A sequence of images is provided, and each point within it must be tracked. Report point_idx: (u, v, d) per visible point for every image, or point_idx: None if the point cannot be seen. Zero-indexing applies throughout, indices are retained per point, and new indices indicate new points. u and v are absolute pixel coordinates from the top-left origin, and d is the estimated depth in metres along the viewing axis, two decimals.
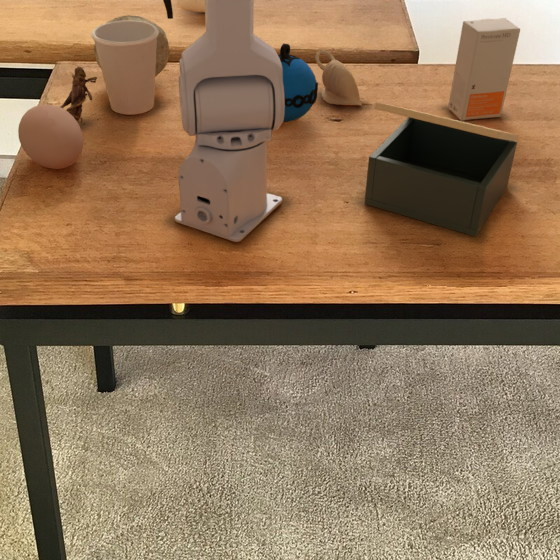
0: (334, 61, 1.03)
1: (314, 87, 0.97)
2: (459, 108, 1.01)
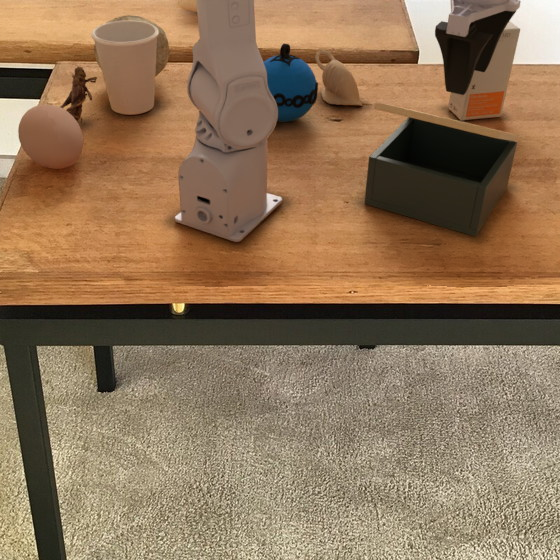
0: (334, 61, 1.03)
1: (314, 87, 0.97)
2: (459, 108, 1.01)
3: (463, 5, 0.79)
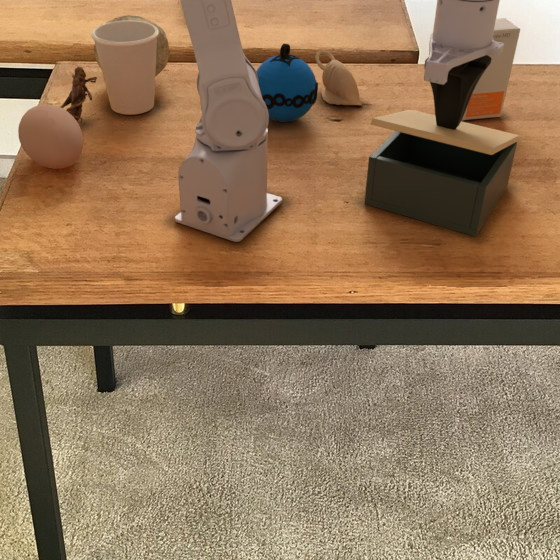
0: (334, 61, 1.03)
1: (314, 87, 0.97)
2: None
3: (442, 49, 0.73)
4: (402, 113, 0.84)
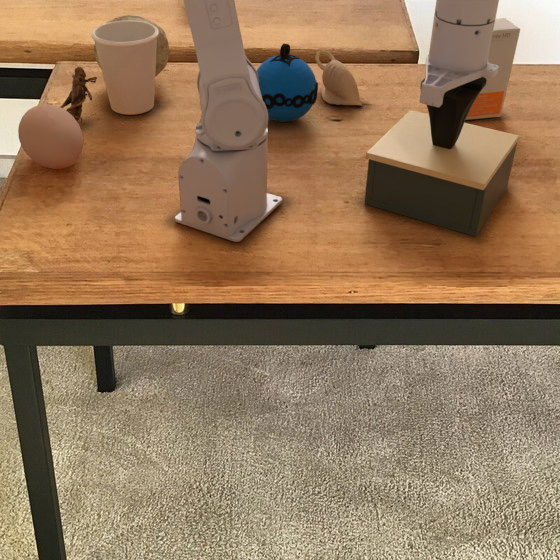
0: (334, 61, 1.03)
1: (314, 87, 0.97)
2: None
3: (438, 71, 0.74)
4: (400, 125, 0.85)
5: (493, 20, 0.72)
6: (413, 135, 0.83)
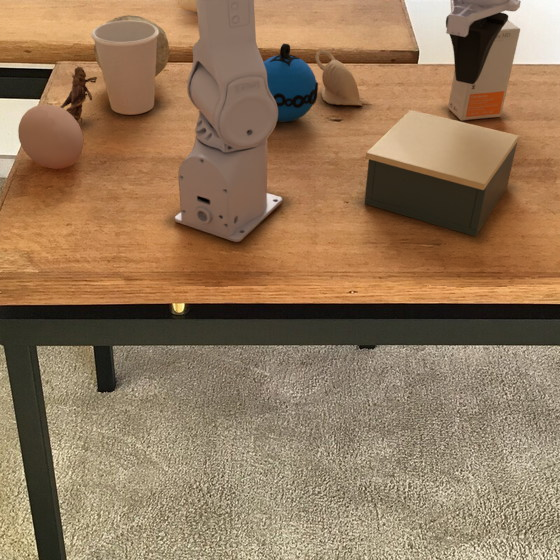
0: (334, 61, 1.03)
1: (314, 87, 0.97)
2: (459, 108, 1.01)
3: (463, 5, 0.79)
4: (400, 125, 0.85)
5: None
6: (413, 135, 0.83)
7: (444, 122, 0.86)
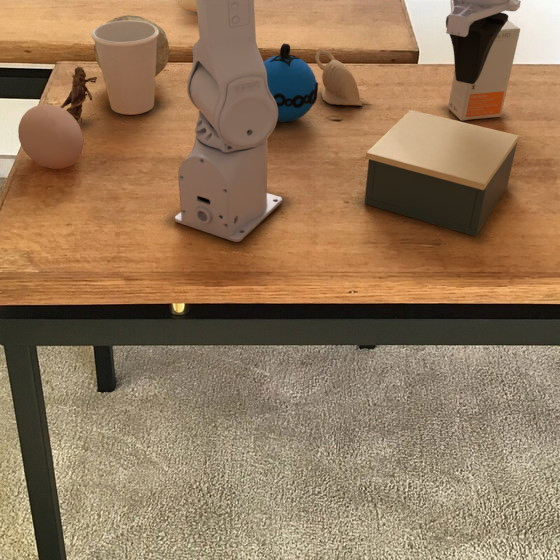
0: (334, 61, 1.03)
1: (314, 87, 0.97)
2: (459, 108, 1.01)
3: (463, 5, 0.79)
4: (400, 125, 0.85)
5: None
6: (413, 135, 0.83)
7: (444, 122, 0.86)
